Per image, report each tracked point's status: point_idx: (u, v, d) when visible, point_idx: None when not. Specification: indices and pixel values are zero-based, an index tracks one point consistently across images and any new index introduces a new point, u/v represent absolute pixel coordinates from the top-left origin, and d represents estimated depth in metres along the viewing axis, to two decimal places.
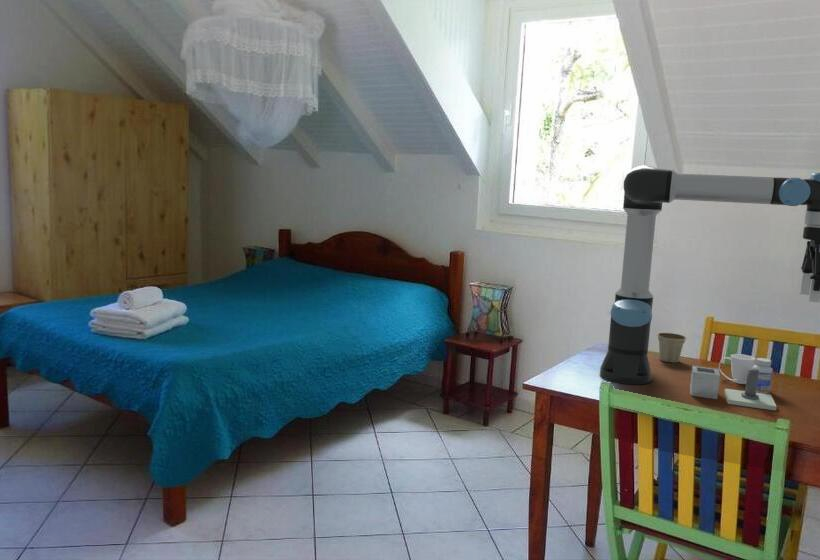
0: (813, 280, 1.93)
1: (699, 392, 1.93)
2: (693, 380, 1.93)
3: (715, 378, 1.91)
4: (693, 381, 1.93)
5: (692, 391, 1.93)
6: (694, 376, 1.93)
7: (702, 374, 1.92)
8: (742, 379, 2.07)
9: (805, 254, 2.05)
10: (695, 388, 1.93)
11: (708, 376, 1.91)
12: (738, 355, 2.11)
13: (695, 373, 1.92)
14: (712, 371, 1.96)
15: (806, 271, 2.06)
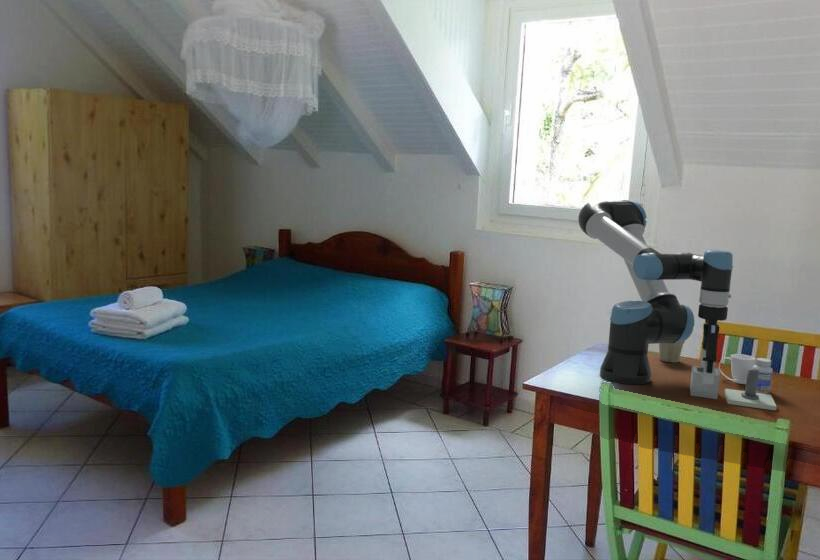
0: (706, 362, 1.87)
1: (699, 392, 1.93)
2: (693, 380, 1.93)
3: (715, 378, 1.91)
4: (693, 381, 1.93)
5: (692, 391, 1.93)
6: (694, 376, 1.93)
7: (702, 374, 1.92)
8: (742, 379, 2.07)
9: None
10: (695, 388, 1.93)
11: None
12: (738, 355, 2.11)
13: (695, 373, 1.92)
14: None
15: (706, 348, 2.00)
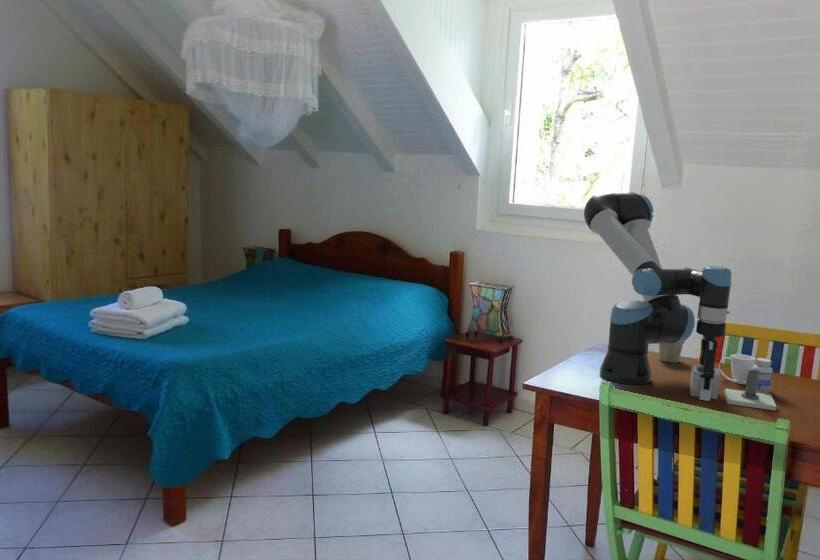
0: (703, 378, 1.88)
1: (699, 392, 1.93)
2: (693, 380, 1.93)
3: (715, 378, 1.91)
4: (693, 381, 1.93)
5: (692, 391, 1.93)
6: (694, 376, 1.93)
7: (702, 374, 1.92)
8: (742, 379, 2.07)
9: None
10: (695, 388, 1.93)
11: None
12: (738, 355, 2.11)
13: (695, 373, 1.92)
14: None
15: (703, 363, 2.01)
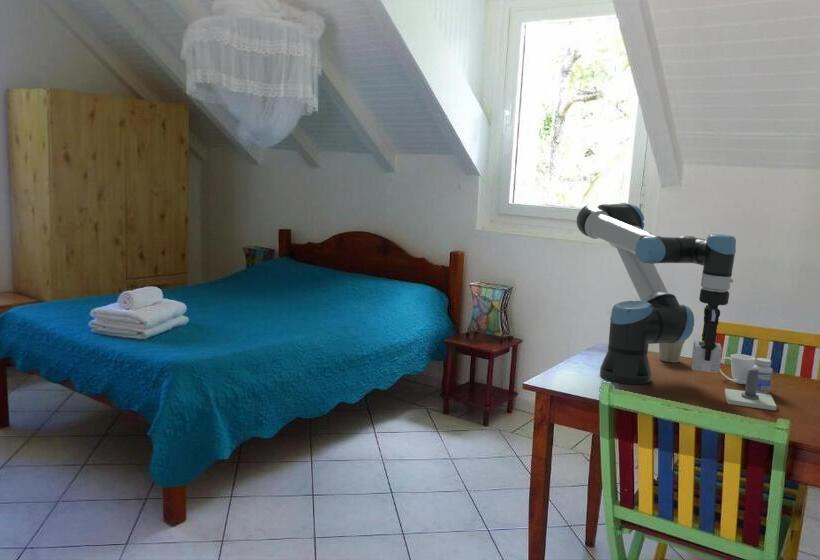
0: (704, 349, 1.90)
1: (700, 366, 1.92)
2: (695, 354, 1.92)
3: (717, 352, 1.90)
4: (695, 355, 1.92)
5: (694, 365, 1.93)
6: (696, 350, 1.92)
7: None
8: (742, 379, 2.07)
9: None
10: (697, 362, 1.92)
11: None
12: (738, 355, 2.11)
13: (697, 347, 1.92)
14: None
15: (705, 340, 1.98)
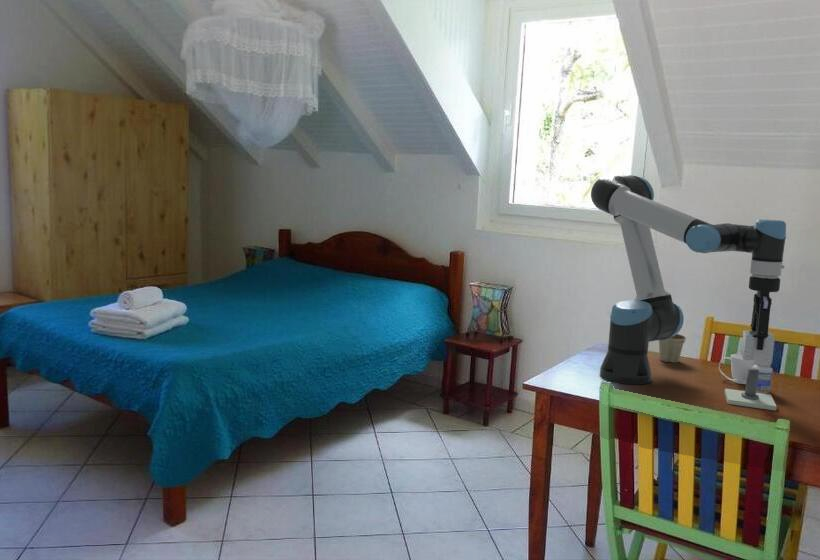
0: (756, 338, 1.84)
1: None
2: (746, 343, 1.86)
3: (769, 341, 1.84)
4: (746, 345, 1.86)
5: (745, 355, 1.86)
6: (747, 339, 1.85)
7: None
8: (742, 379, 2.07)
9: (753, 308, 1.92)
10: (748, 352, 1.86)
11: None
12: (738, 355, 2.11)
13: (748, 336, 1.85)
14: None
15: (755, 329, 1.91)
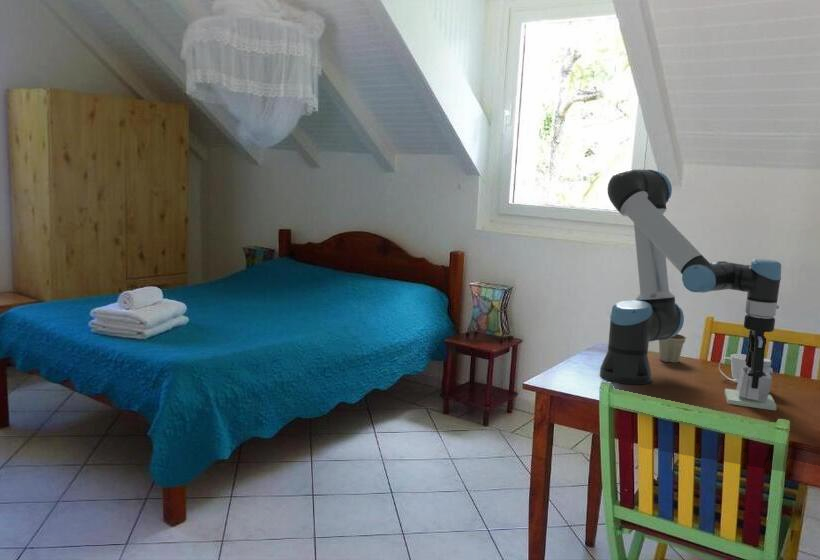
0: (751, 377, 1.85)
1: None
2: (743, 381, 1.87)
3: (766, 381, 1.85)
4: (743, 382, 1.87)
5: (741, 392, 1.88)
6: (745, 377, 1.87)
7: None
8: None
9: None
10: (744, 389, 1.87)
11: None
12: (738, 355, 2.11)
13: (746, 374, 1.87)
14: None
15: (750, 365, 1.94)
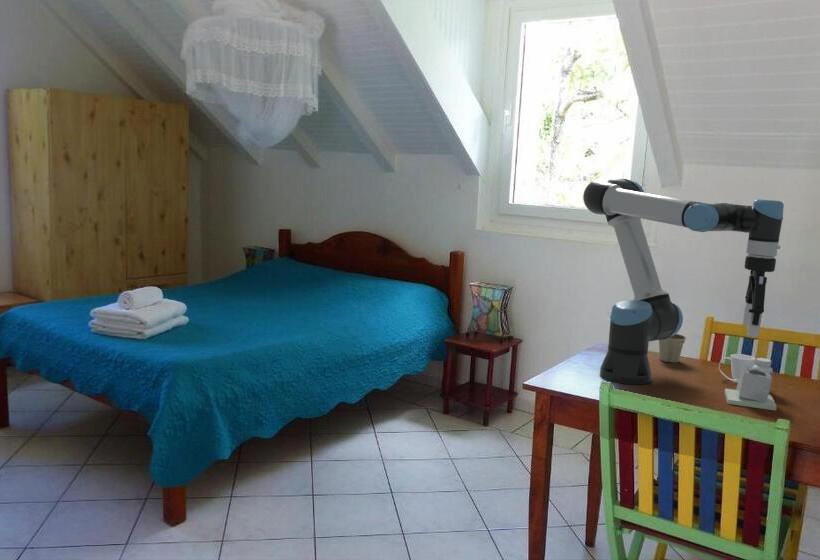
0: (752, 313, 1.82)
1: (747, 394, 1.87)
2: (743, 381, 1.87)
3: (766, 381, 1.85)
4: (743, 382, 1.87)
5: (741, 392, 1.88)
6: (745, 377, 1.87)
7: (753, 376, 1.86)
8: None
9: None
10: (744, 389, 1.87)
11: (759, 379, 1.86)
12: (738, 355, 2.11)
13: (746, 374, 1.87)
14: (762, 374, 1.91)
15: (749, 301, 1.95)
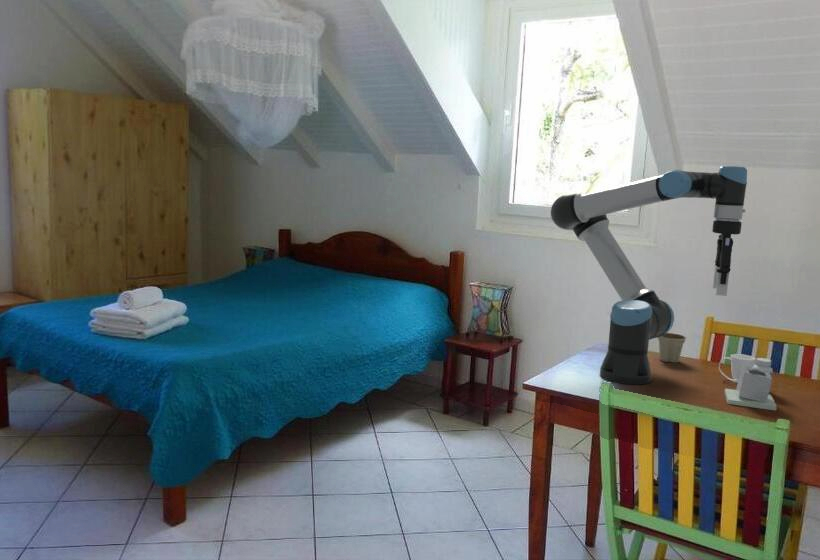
0: (720, 273, 1.92)
1: (747, 394, 1.87)
2: (743, 381, 1.87)
3: (766, 381, 1.85)
4: (743, 382, 1.87)
5: (741, 392, 1.88)
6: (745, 377, 1.87)
7: (753, 376, 1.86)
8: None
9: None
10: (744, 389, 1.87)
11: (759, 379, 1.86)
12: (738, 355, 2.11)
13: (746, 374, 1.87)
14: (762, 374, 1.91)
15: (719, 265, 2.05)
